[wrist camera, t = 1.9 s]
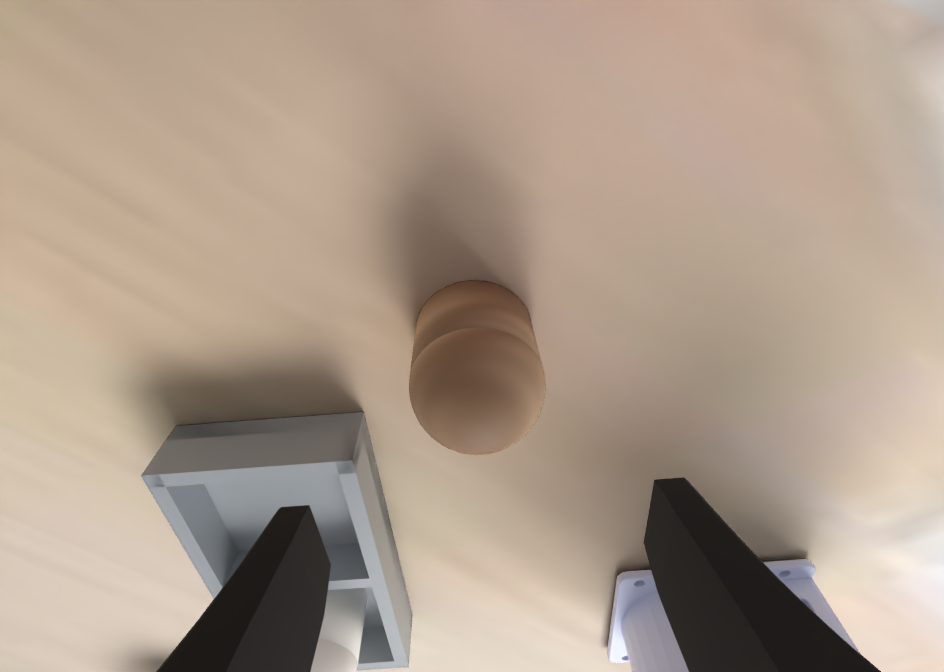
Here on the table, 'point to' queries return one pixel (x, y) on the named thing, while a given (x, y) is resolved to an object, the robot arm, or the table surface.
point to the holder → (282, 485)
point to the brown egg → (476, 368)
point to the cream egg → (341, 631)
